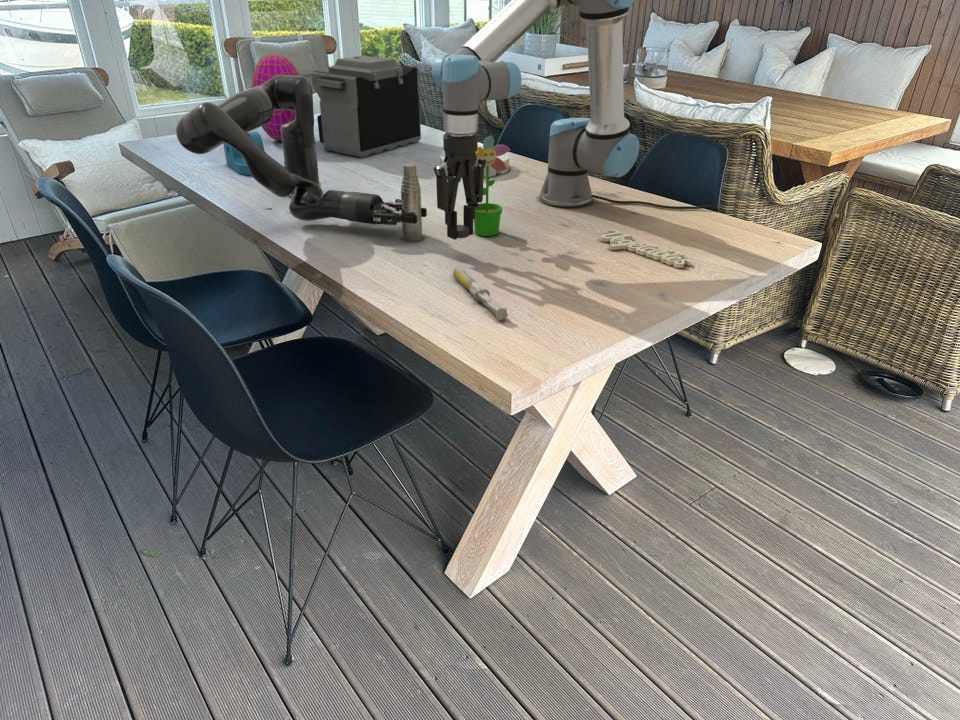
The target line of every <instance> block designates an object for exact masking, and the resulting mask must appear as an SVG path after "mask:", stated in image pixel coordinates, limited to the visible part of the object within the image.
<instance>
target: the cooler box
mask: <svg viewBox="0 0 960 720" xmlns="http://www.w3.org/2000/svg"><path fill="white" fill-rule="evenodd" d="M310 79H311V87H313V88H312V89H313V90H314V91H315V93H316V94H317V96H318V98H319V110H320V111H319V112H320V114H319V115H317V116H316V119H317V128H318V138H319V143H320V144H323V146H324V149H325V150H327V151H330V152H335V153H340V154H344V155H348V156H353V157H357V158H362V159H363V158H366V157H367V158H368V157H369V155H371V154H375V155H377V154H381V153H382V152H383V151H391V150H395V149H396V148H397V147H405V146H407V145H408V144H416V143H418V142H419V141H421V137H422V128H421V97H420V92H419V91H420V89H419V68H418V67H417V66H408V65H400V64H396V62H395V60H394V59H393V58H385V57H377V56H367V55H356V56H353V57H350V58H349V57H343V58H342V57H341V58H337V59H336V60H335V63H334V64H333V65H330V66H329V67H328V72H327V71H320V70H314V71H313V70H312V71H310Z"/></svg>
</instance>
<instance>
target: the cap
mask: <svg viewBox="0 0 960 720" xmlns="http://www.w3.org/2000/svg"><path fill="white" fill-rule="evenodd" d="M469 236H471V235H470V229H469V227H468V226H465V225H463V224H457V239H466V238H469Z"/></svg>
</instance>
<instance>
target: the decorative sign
mask: <svg viewBox="0 0 960 720" xmlns="http://www.w3.org/2000/svg"><path fill="white" fill-rule="evenodd" d="M600 241H602V242H605V243H609V244H610V245H609V250H610V251H617V250H618V251H619V250H627V251H628V252H634V253H635V254H637V255H640V256H645V257H647V258H649V259H653V260H654V261H660V262H661V263H663V264H666V265H668V266H673V267H674V268H677V269H684V267H685V265H686V266H687V267H688V266H691V259H688V258H685V253H683V252H676V253H675V250H674V249H663V250H660V248H659V246H657V245H656V244H651V243H649V242H643V243H641V242H637V241H633V235H632V234H621V231H620V230H617V229H607V232H606V233H604V234H601V236H600Z"/></svg>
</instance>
